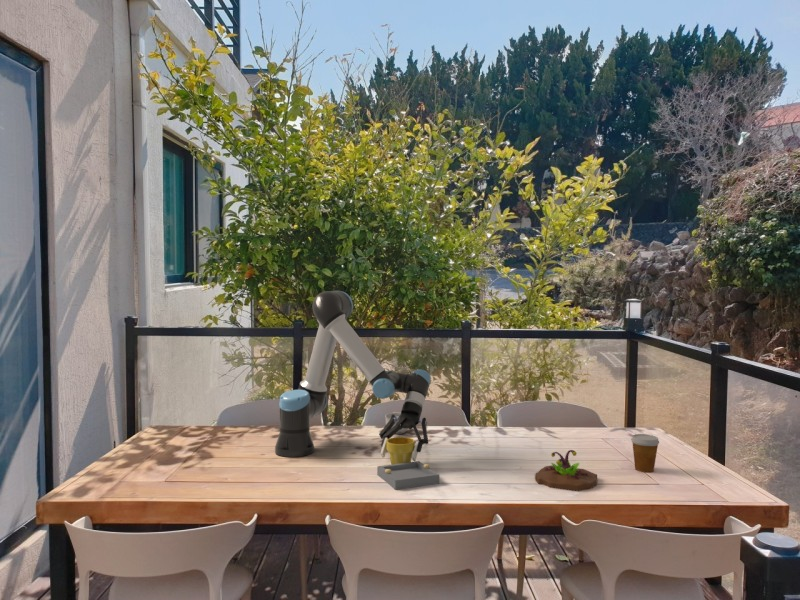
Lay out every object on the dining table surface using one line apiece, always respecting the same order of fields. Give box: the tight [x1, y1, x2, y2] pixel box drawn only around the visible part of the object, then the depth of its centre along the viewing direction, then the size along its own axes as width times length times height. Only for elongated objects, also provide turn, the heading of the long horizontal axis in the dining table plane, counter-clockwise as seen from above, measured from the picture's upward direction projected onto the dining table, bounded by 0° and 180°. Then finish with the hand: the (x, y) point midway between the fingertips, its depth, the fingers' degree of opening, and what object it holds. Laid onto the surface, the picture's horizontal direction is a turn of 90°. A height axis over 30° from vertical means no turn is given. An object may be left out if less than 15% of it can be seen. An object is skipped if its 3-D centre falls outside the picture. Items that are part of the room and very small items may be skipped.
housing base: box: [376, 460, 440, 490], centre depth 209 cm, size 16×16×4 cm
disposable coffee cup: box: [630, 433, 660, 473], centre depth 221 cm, size 10×10×12 cm
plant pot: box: [386, 436, 416, 465], centre depth 222 cm, size 10×10×10 cm
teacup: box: [384, 411, 409, 435], centre depth 273 cm, size 14×11×8 cm
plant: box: [534, 449, 598, 492], centre depth 209 cm, size 20×20×11 cm
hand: (397, 457), depth 220 cm, fingers open, 11 cm apart
